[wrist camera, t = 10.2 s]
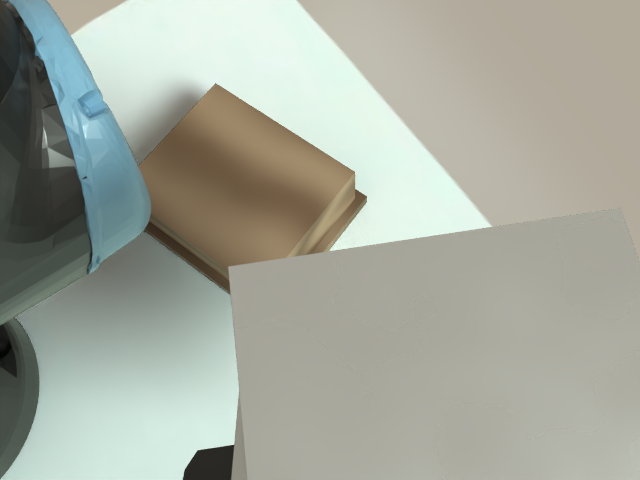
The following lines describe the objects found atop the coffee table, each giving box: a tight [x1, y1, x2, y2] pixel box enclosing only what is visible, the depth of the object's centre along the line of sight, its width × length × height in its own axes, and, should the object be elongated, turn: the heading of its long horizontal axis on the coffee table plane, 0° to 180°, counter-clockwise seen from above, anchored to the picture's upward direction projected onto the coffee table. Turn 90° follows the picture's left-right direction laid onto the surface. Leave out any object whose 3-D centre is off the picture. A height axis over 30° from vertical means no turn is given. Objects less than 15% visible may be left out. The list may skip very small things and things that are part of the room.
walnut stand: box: [138, 83, 367, 295], centre depth 42 cm, size 11×13×5 cm
